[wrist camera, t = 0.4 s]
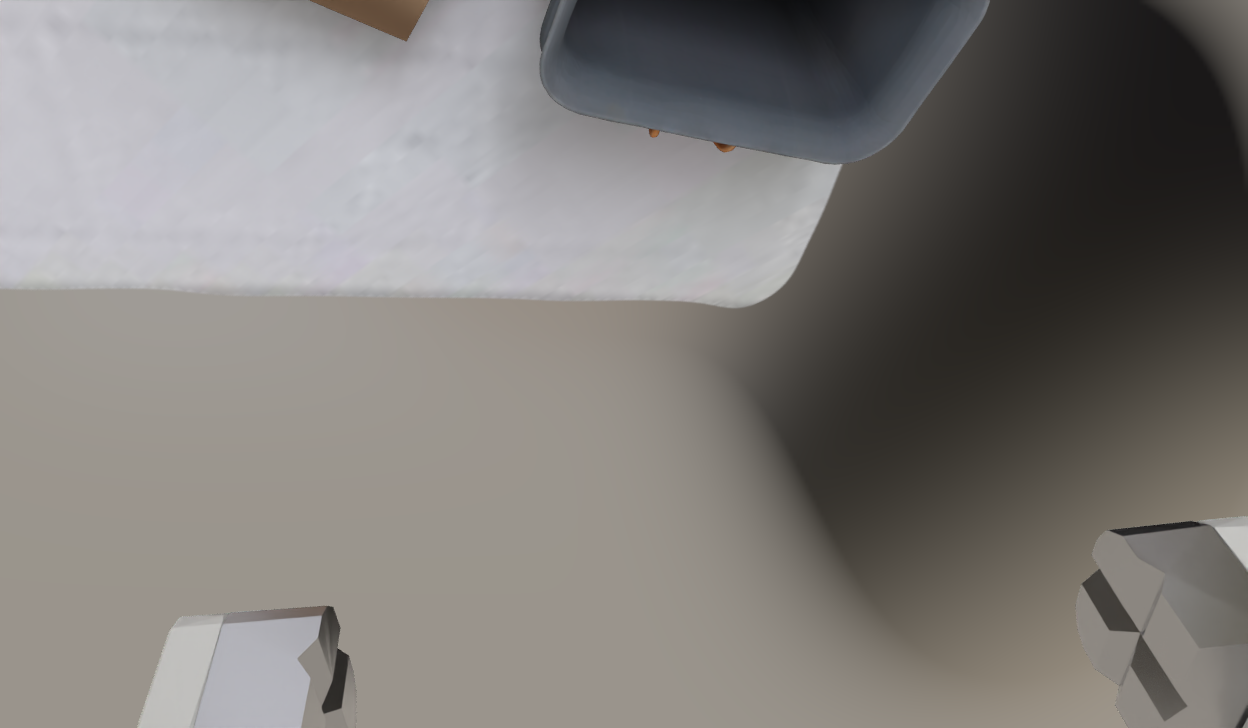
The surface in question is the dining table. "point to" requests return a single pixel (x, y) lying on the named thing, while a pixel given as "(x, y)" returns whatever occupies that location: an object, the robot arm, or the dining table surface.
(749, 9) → the storage bin
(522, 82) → the dining table surface
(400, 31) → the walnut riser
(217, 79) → the dining table surface
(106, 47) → the dining table surface
